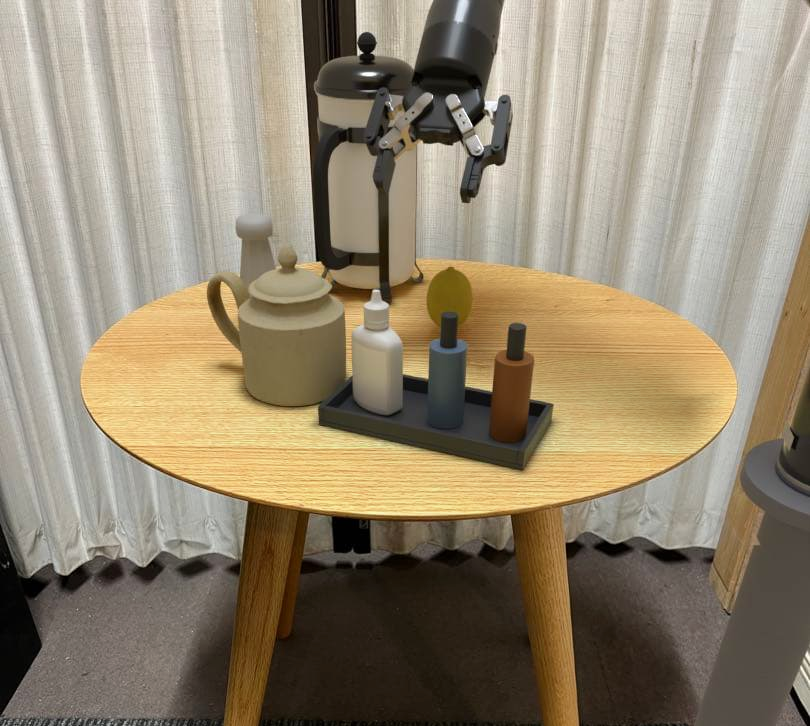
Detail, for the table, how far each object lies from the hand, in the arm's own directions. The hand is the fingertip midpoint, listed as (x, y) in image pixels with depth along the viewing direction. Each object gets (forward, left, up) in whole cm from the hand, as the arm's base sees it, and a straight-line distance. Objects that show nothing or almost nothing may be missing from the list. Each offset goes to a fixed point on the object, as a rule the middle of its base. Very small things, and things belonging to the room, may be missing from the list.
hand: (422, 195), depth 81 cm
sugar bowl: (+13, +9, -19) cm, 25 cm away
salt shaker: (+23, -5, -19) cm, 30 cm away
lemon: (+1, -12, -19) cm, 22 cm away
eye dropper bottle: (+1, +10, -19) cm, 21 cm away
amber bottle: (-13, +10, -18) cm, 25 cm away
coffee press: (+16, -21, -19) cm, 32 cm away
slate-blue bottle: (-7, +10, -18) cm, 22 cm away
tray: (-6, +10, -19) cm, 22 cm away
